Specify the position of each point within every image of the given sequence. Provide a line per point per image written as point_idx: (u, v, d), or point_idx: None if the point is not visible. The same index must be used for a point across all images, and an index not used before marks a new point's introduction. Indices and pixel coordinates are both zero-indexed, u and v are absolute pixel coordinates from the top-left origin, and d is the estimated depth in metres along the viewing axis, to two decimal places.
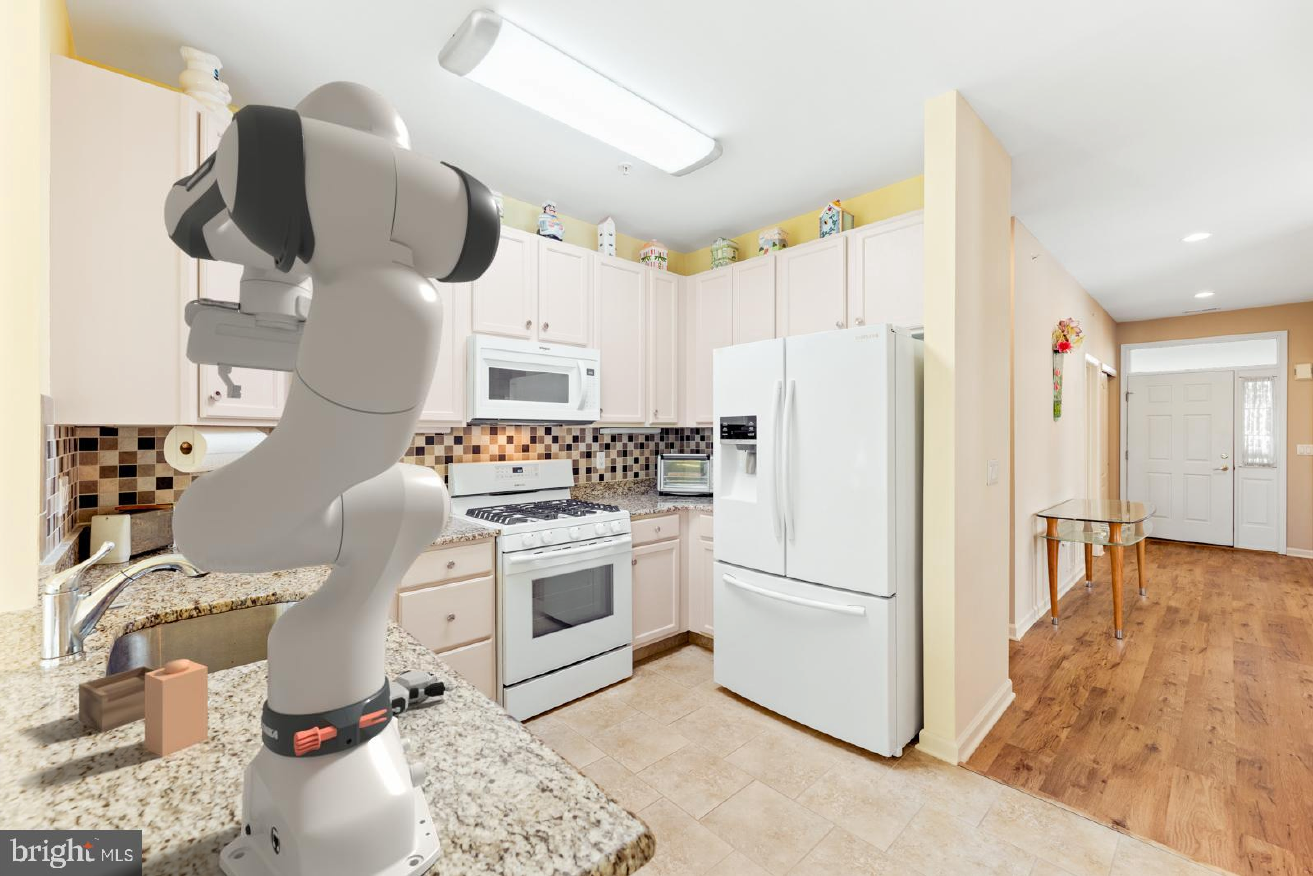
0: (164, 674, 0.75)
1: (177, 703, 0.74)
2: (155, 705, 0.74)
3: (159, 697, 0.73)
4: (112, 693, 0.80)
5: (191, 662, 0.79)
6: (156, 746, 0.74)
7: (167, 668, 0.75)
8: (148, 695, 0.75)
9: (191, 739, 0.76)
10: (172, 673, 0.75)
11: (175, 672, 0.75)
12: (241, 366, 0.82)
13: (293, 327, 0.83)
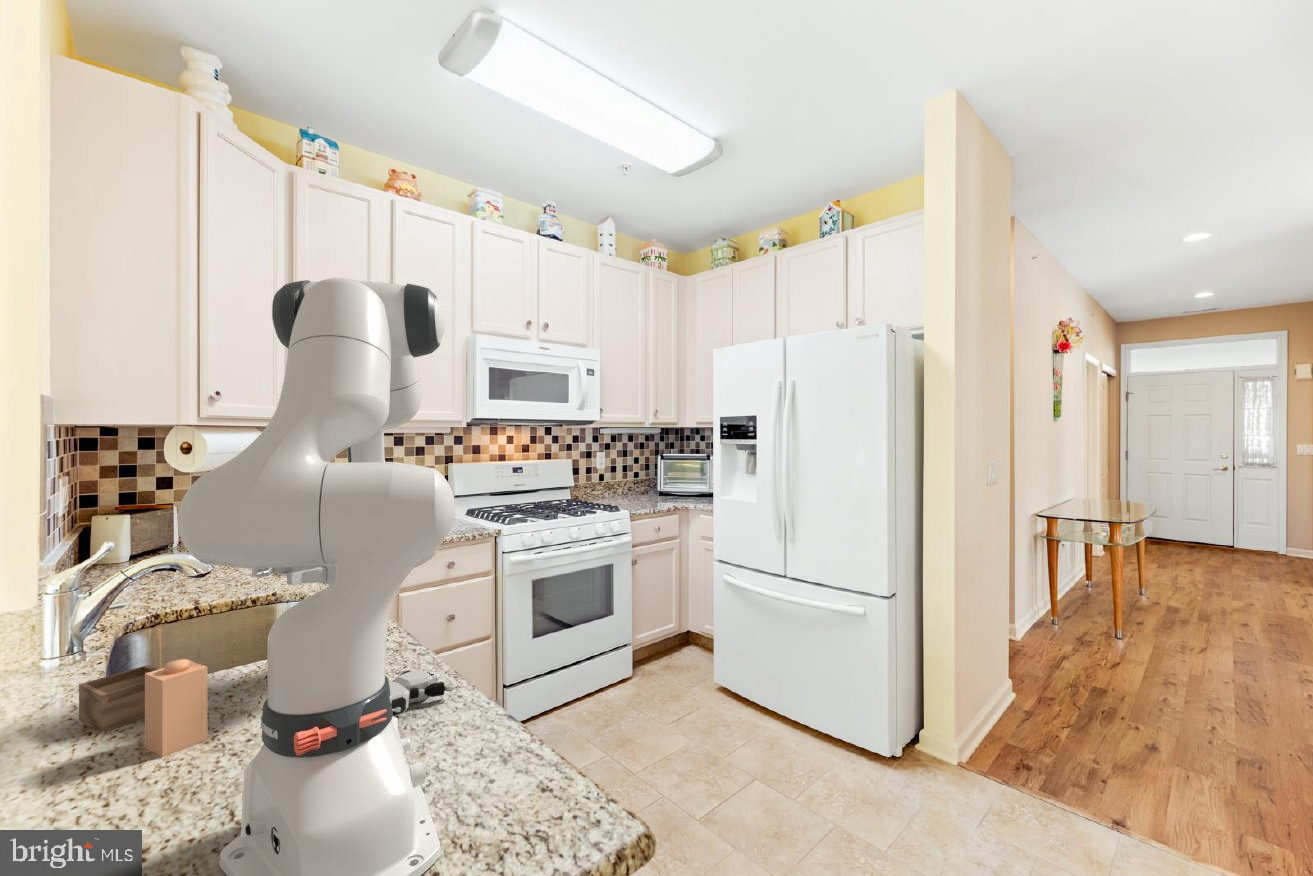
0: (164, 674, 0.75)
1: (177, 703, 0.74)
2: (155, 705, 0.74)
3: (159, 697, 0.73)
4: (112, 693, 0.80)
5: (191, 662, 0.79)
6: (156, 746, 0.74)
7: (167, 668, 0.75)
8: (147, 695, 0.75)
9: (191, 739, 0.76)
10: (172, 673, 0.75)
11: (175, 672, 0.75)
12: None
13: None
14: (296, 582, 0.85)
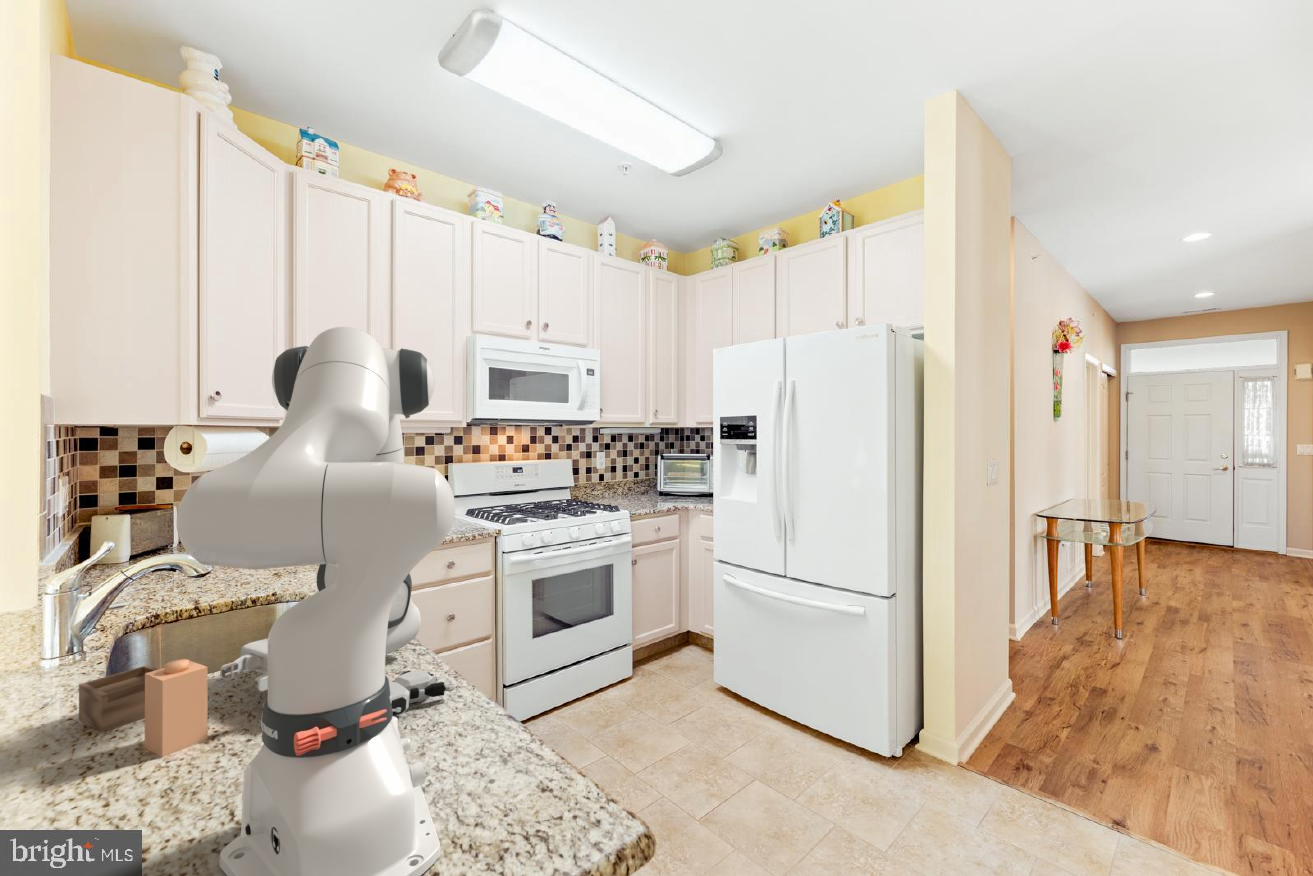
0: (164, 674, 0.75)
1: (177, 703, 0.74)
2: (155, 705, 0.74)
3: (159, 697, 0.73)
4: (112, 693, 0.80)
5: (191, 662, 0.79)
6: (156, 746, 0.74)
7: (167, 668, 0.75)
8: (148, 695, 0.75)
9: (191, 739, 0.76)
10: (172, 673, 0.75)
11: (175, 672, 0.75)
12: (260, 670, 0.89)
13: None
14: (265, 687, 0.81)
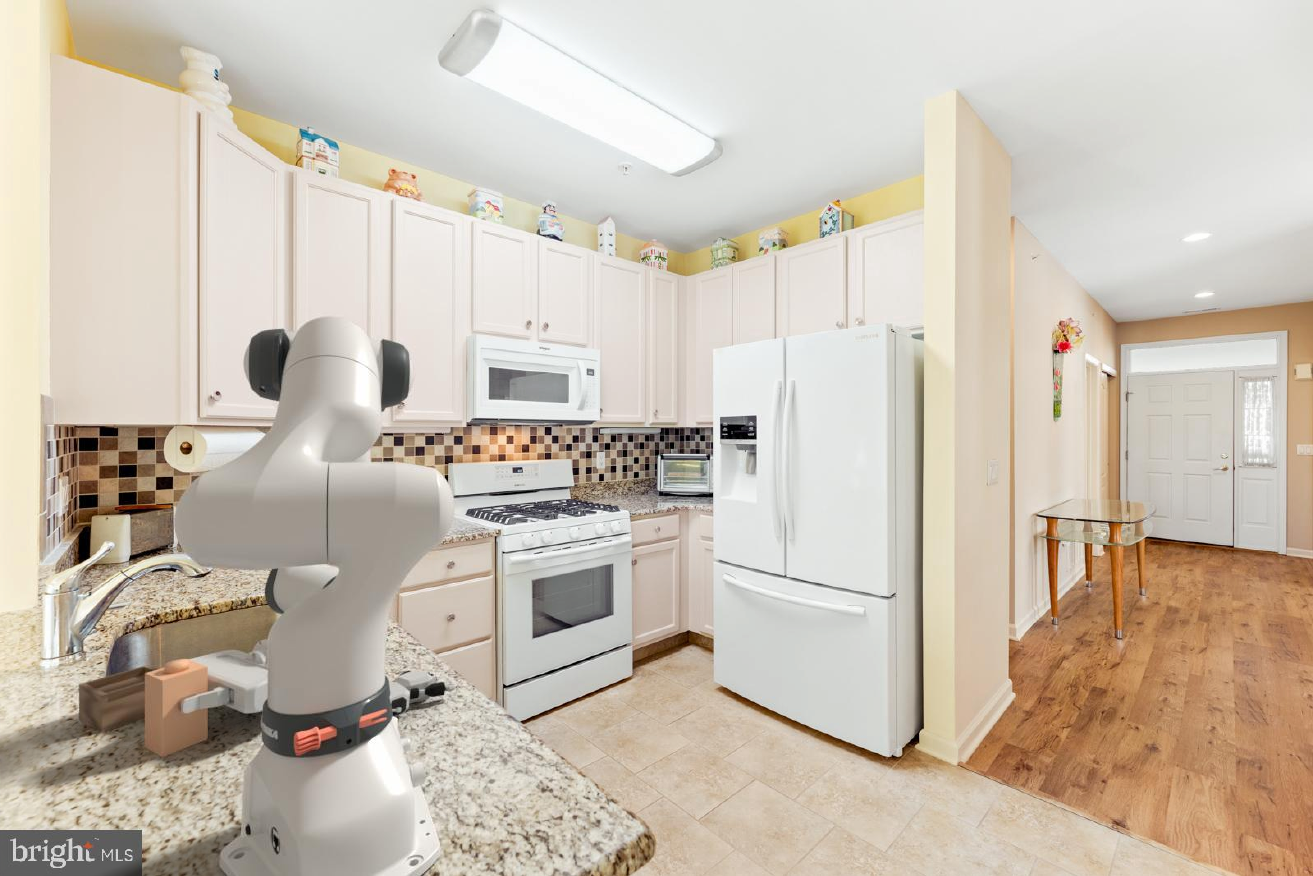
0: (164, 674, 0.75)
1: (177, 703, 0.74)
2: (155, 704, 0.74)
3: (159, 697, 0.73)
4: (112, 693, 0.80)
5: (191, 662, 0.79)
6: (156, 745, 0.74)
7: (167, 668, 0.75)
8: (148, 695, 0.75)
9: (191, 739, 0.76)
10: (172, 673, 0.75)
11: (175, 672, 0.75)
12: None
13: (263, 657, 0.84)
14: (189, 709, 0.74)
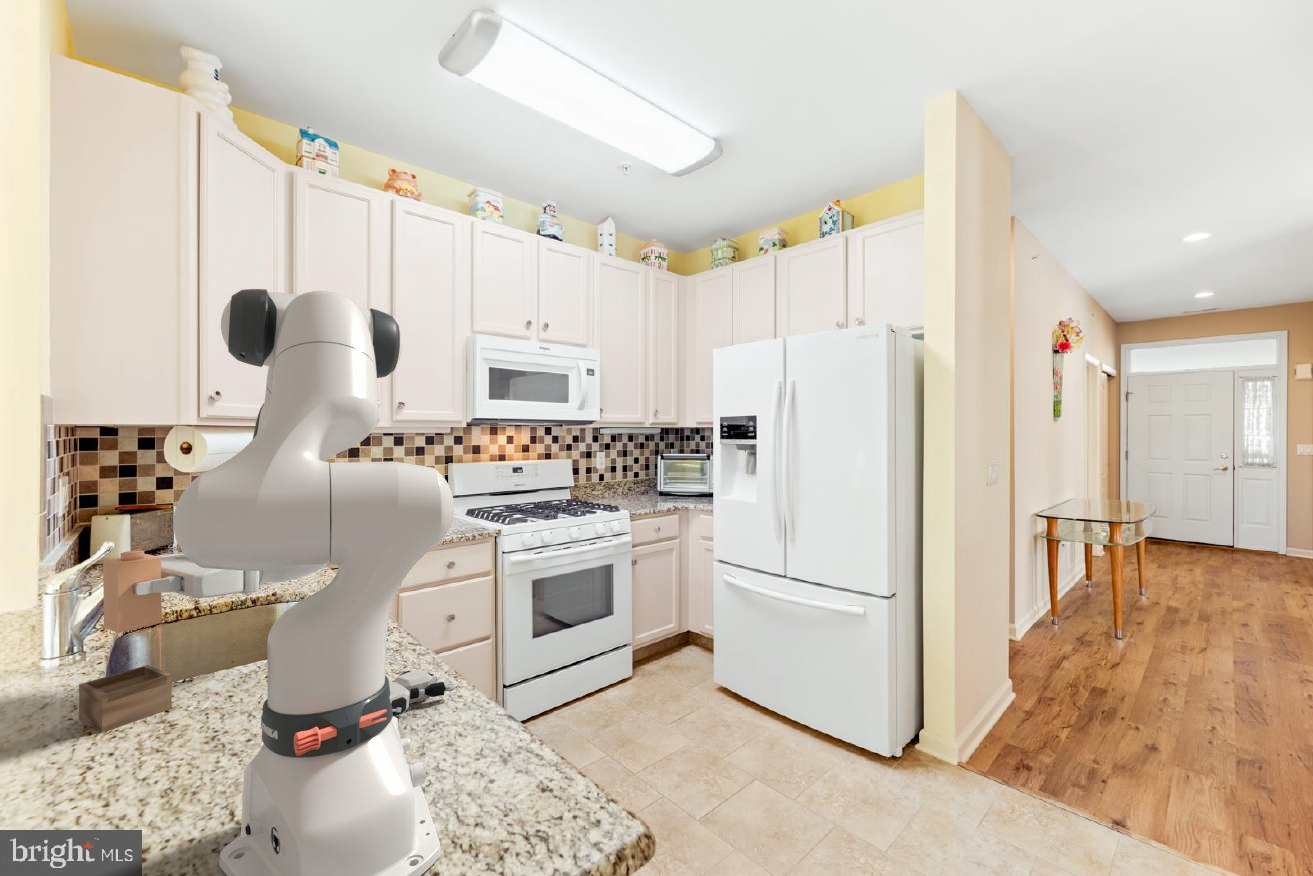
0: (120, 560, 0.83)
1: (132, 586, 0.82)
2: (112, 587, 0.82)
3: (115, 579, 0.81)
4: (112, 693, 0.80)
5: (147, 555, 0.87)
6: (113, 623, 0.82)
7: (123, 556, 0.83)
8: (106, 579, 0.83)
9: (146, 620, 0.84)
10: (127, 560, 0.83)
11: (130, 559, 0.83)
12: None
13: None
14: (142, 592, 0.82)
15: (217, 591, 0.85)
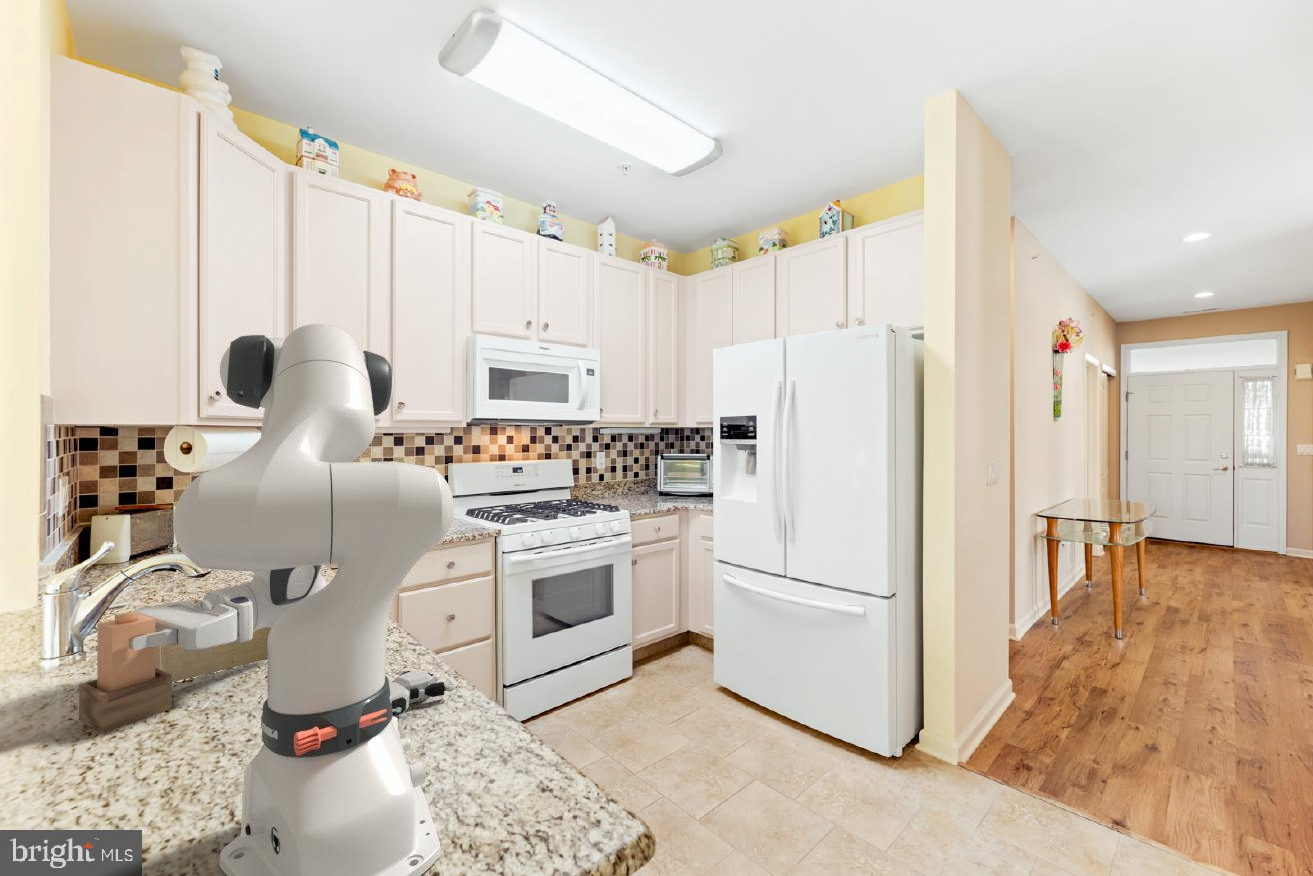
0: (114, 624, 0.83)
1: (125, 650, 0.82)
2: (106, 651, 0.82)
3: (109, 644, 0.81)
4: (112, 693, 0.80)
5: (141, 615, 0.87)
6: (107, 687, 0.82)
7: (117, 619, 0.83)
8: (100, 643, 0.83)
9: None
10: (122, 623, 0.83)
11: (125, 622, 0.83)
12: None
13: (209, 605, 0.92)
14: (139, 646, 0.82)
15: (210, 642, 0.86)
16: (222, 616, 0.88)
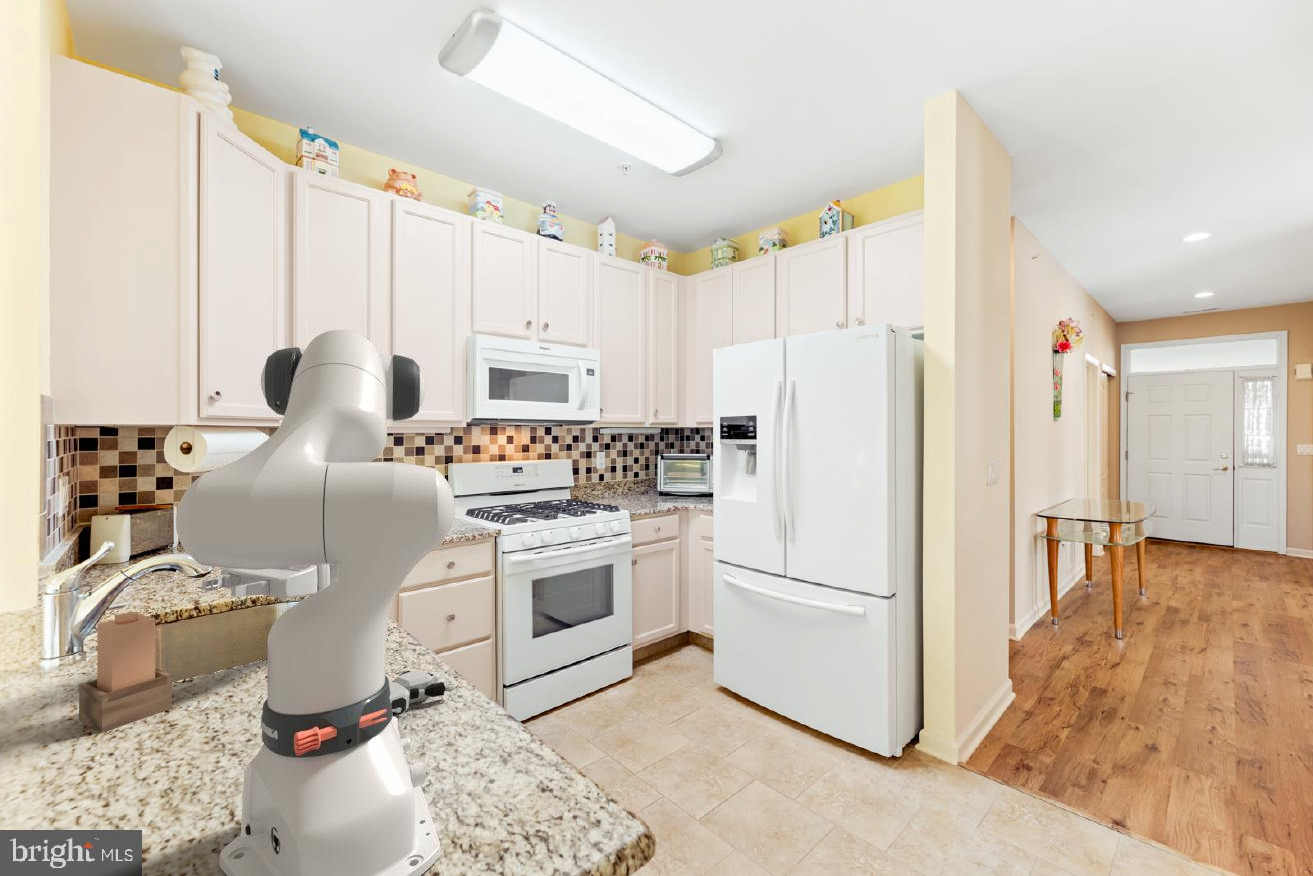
0: (114, 624, 0.83)
1: (125, 650, 0.82)
2: (106, 651, 0.82)
3: (109, 644, 0.81)
4: (112, 693, 0.80)
5: (141, 615, 0.87)
6: (107, 687, 0.82)
7: (117, 619, 0.83)
8: (100, 643, 0.83)
9: None
10: (122, 623, 0.83)
11: (125, 622, 0.83)
12: None
13: None
14: (240, 594, 0.93)
15: (297, 592, 0.97)
16: (306, 570, 0.99)
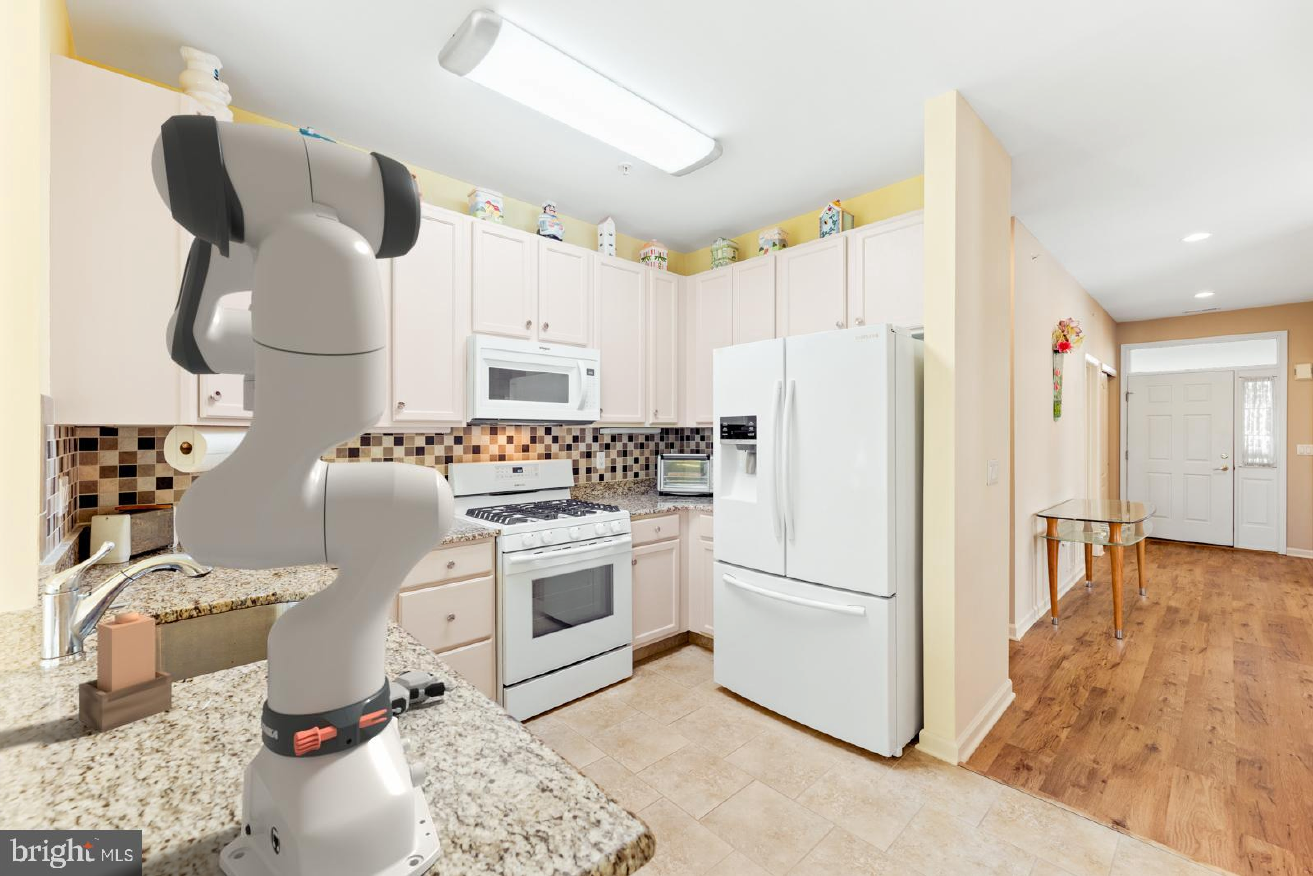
0: (114, 624, 0.83)
1: (125, 650, 0.82)
2: (106, 651, 0.82)
3: (109, 644, 0.81)
4: (112, 693, 0.80)
5: (141, 615, 0.87)
6: (107, 687, 0.82)
7: (117, 619, 0.83)
8: (100, 643, 0.83)
9: None
10: (122, 623, 0.83)
11: (125, 622, 0.83)
12: None
13: None
14: None
15: None
16: None
